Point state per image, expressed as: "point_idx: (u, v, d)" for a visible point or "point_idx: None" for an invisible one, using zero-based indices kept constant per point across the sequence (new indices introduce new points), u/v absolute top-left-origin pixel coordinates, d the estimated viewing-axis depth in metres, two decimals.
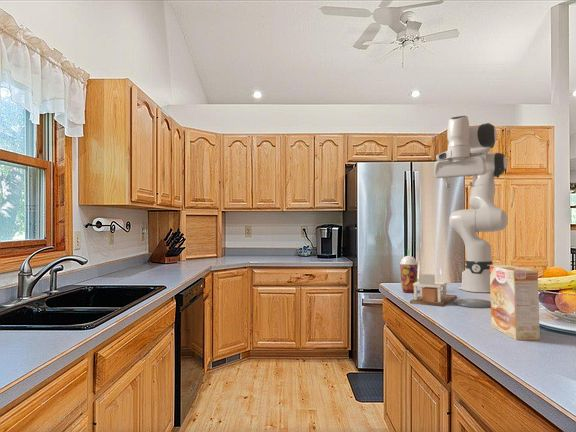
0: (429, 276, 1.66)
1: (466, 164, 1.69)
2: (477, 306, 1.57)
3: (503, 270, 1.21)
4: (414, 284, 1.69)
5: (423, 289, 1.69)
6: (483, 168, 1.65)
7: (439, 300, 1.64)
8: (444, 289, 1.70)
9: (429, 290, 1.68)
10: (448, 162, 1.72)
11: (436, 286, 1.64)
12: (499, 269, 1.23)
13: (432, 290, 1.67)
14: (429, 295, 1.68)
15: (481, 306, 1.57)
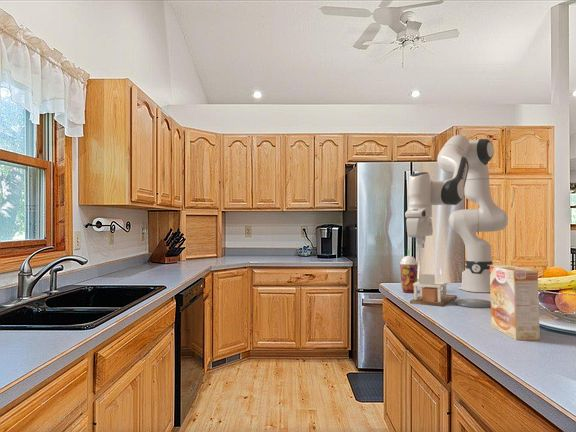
0: (429, 276, 1.66)
1: (426, 224, 1.64)
2: (477, 306, 1.57)
3: (503, 270, 1.21)
4: (414, 284, 1.69)
5: (423, 289, 1.69)
6: (432, 229, 1.69)
7: (439, 300, 1.64)
8: (444, 289, 1.70)
9: (429, 290, 1.68)
10: (422, 221, 1.58)
11: (436, 286, 1.64)
12: (499, 269, 1.23)
13: (432, 290, 1.67)
14: (429, 295, 1.68)
15: (481, 306, 1.57)
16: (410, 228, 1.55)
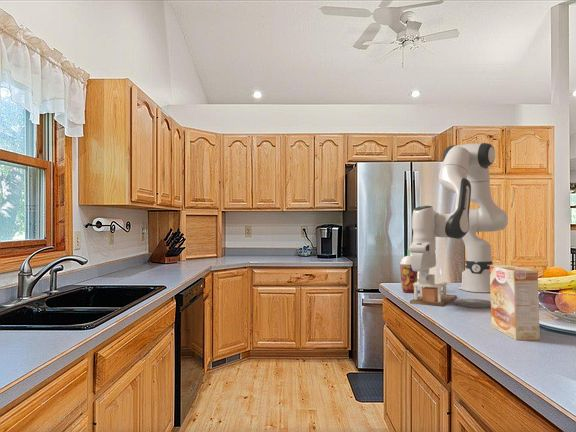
0: (429, 276, 1.66)
1: (430, 256, 1.67)
2: (477, 306, 1.57)
3: (503, 270, 1.21)
4: (414, 284, 1.70)
5: (423, 289, 1.69)
6: None
7: (439, 300, 1.64)
8: (444, 289, 1.70)
9: (429, 290, 1.68)
10: (426, 254, 1.61)
11: (436, 286, 1.64)
12: (499, 269, 1.23)
13: (432, 290, 1.67)
14: (429, 295, 1.68)
15: (481, 306, 1.57)
16: (415, 262, 1.58)
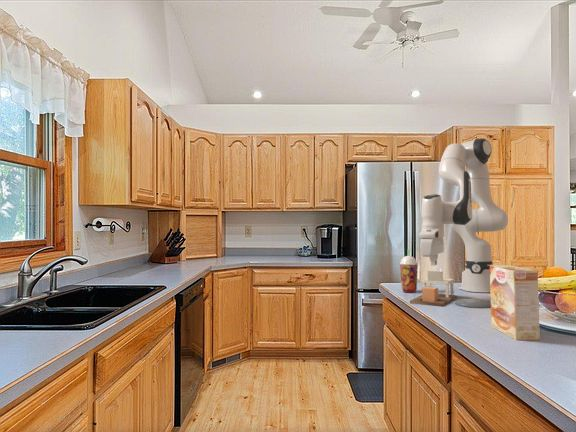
0: (437, 273, 1.75)
1: (439, 243, 1.76)
2: (477, 306, 1.57)
3: (503, 270, 1.21)
4: (423, 281, 1.79)
5: (423, 289, 1.69)
6: (443, 247, 1.81)
7: (447, 296, 1.73)
8: (451, 285, 1.79)
9: (429, 290, 1.68)
10: (435, 241, 1.70)
11: (444, 282, 1.74)
12: (499, 269, 1.23)
13: (432, 290, 1.67)
14: (429, 295, 1.68)
15: (481, 306, 1.57)
16: (425, 248, 1.67)
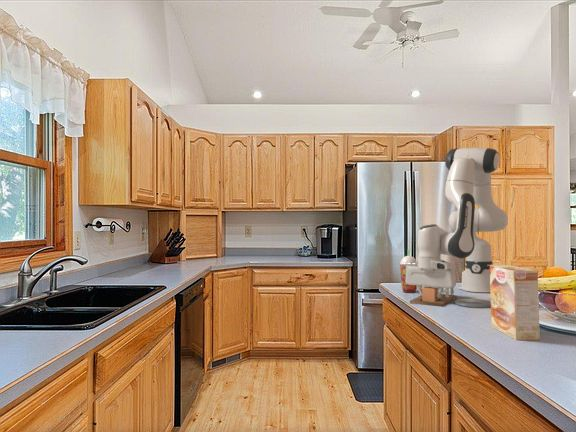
0: None
1: None
2: (477, 306, 1.57)
3: (503, 270, 1.21)
4: None
5: (423, 289, 1.69)
6: None
7: (447, 296, 1.73)
8: None
9: (429, 290, 1.68)
10: None
11: None
12: (499, 269, 1.23)
13: (432, 290, 1.67)
14: (429, 295, 1.68)
15: (481, 306, 1.57)
16: (453, 279, 1.63)
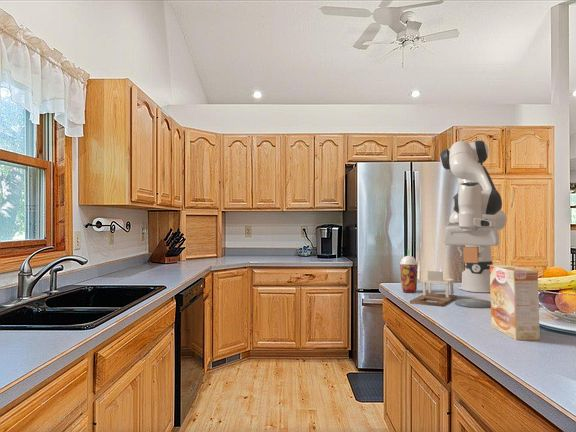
0: (437, 273, 1.75)
1: None
2: (477, 306, 1.57)
3: (503, 270, 1.21)
4: (423, 281, 1.79)
5: (465, 248, 1.63)
6: None
7: (447, 296, 1.73)
8: (451, 285, 1.79)
9: (471, 249, 1.62)
10: None
11: (444, 282, 1.74)
12: (499, 269, 1.23)
13: (475, 248, 1.61)
14: (471, 254, 1.62)
15: (481, 306, 1.57)
16: (498, 236, 1.58)
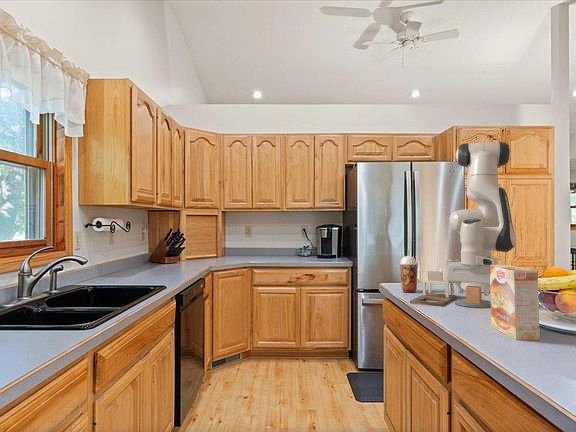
0: (437, 273, 1.75)
1: None
2: (477, 306, 1.57)
3: (503, 270, 1.21)
4: (423, 281, 1.79)
5: (467, 288, 1.63)
6: None
7: (447, 296, 1.73)
8: (451, 285, 1.79)
9: (473, 289, 1.62)
10: None
11: (444, 282, 1.74)
12: (499, 269, 1.23)
13: (477, 289, 1.61)
14: (473, 294, 1.62)
15: (481, 306, 1.57)
16: None
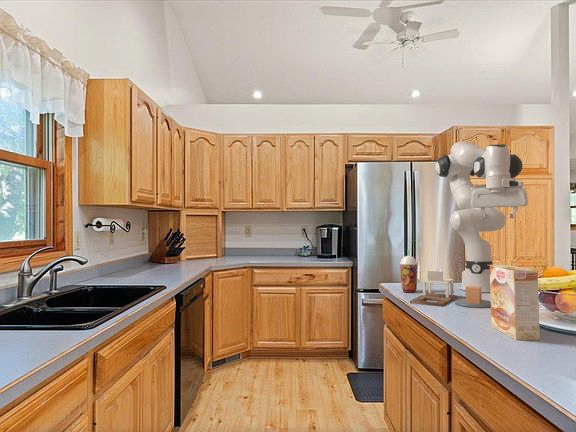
0: (437, 273, 1.75)
1: None
2: (477, 306, 1.57)
3: (503, 270, 1.21)
4: (423, 281, 1.79)
5: (467, 288, 1.63)
6: None
7: (447, 296, 1.73)
8: (451, 285, 1.79)
9: (473, 289, 1.62)
10: None
11: (444, 282, 1.74)
12: (499, 269, 1.23)
13: (477, 289, 1.61)
14: (473, 294, 1.62)
15: (481, 306, 1.57)
16: (526, 197, 1.58)
